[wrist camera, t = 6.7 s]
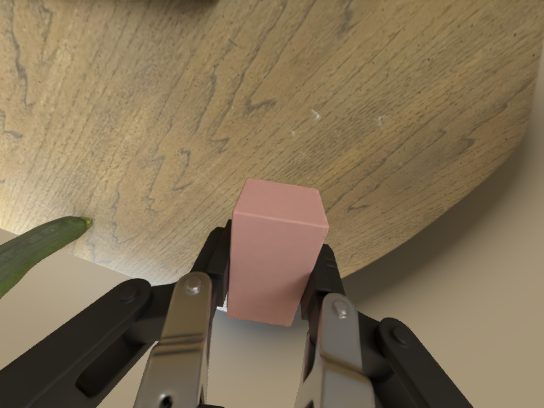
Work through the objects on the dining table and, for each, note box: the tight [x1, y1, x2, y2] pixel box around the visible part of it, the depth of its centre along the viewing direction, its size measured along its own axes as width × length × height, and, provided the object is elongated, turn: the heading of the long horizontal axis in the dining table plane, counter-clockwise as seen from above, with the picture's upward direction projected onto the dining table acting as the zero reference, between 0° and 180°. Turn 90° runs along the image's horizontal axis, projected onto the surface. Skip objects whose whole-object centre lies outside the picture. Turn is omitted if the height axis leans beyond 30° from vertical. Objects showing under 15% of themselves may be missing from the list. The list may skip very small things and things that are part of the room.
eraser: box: [227, 178, 329, 326], centre depth 10 cm, size 4×7×3 cm, turn 171°
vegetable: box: [0, 216, 92, 299], centre depth 20 cm, size 4×4×20 cm
